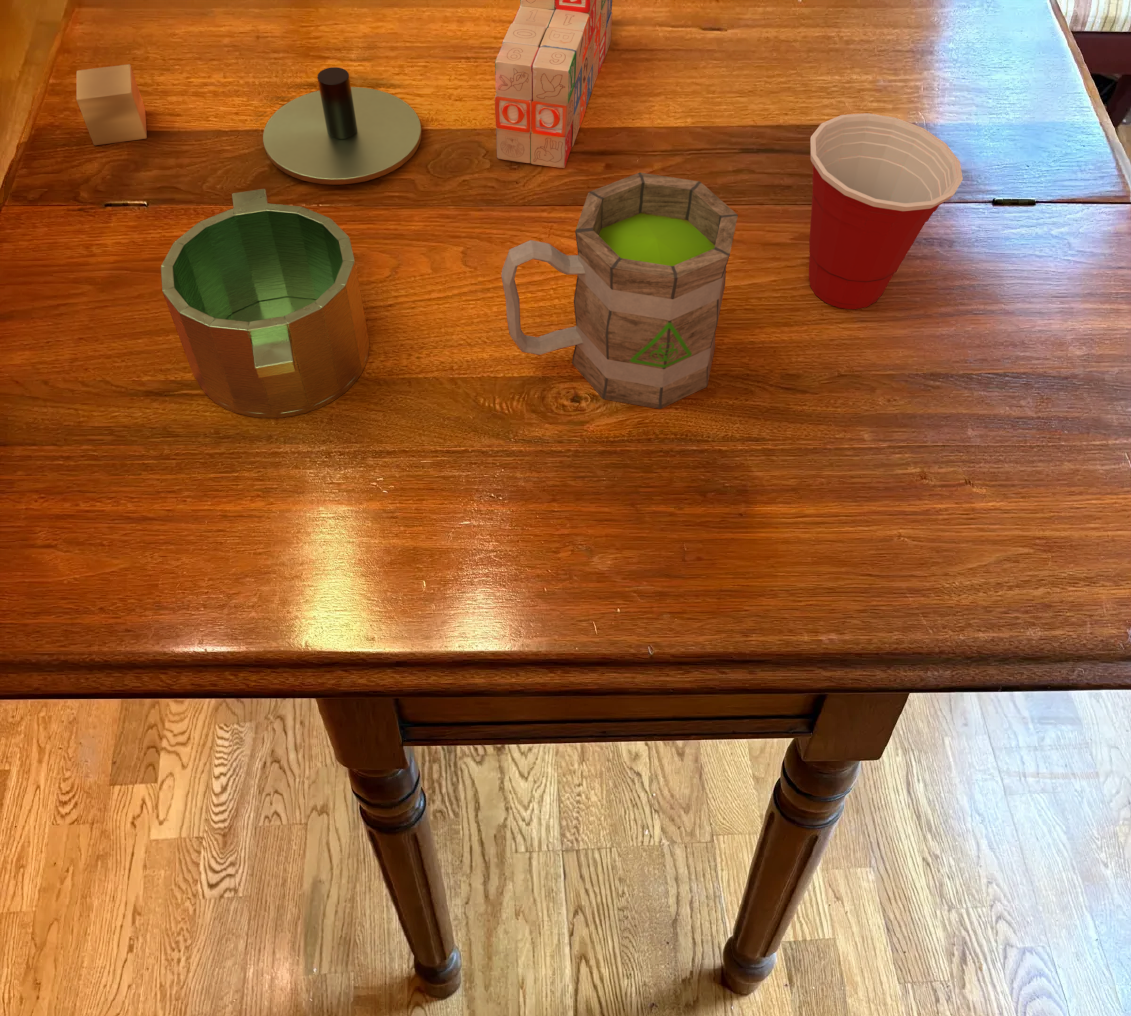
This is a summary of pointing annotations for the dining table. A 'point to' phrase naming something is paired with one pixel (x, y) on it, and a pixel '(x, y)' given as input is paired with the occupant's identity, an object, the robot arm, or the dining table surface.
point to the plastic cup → (871, 202)
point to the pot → (267, 307)
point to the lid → (341, 133)
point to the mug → (638, 288)
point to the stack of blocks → (548, 77)
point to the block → (111, 104)
